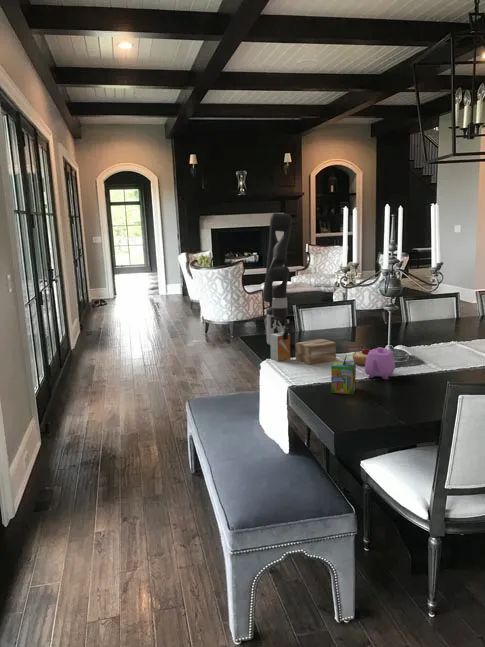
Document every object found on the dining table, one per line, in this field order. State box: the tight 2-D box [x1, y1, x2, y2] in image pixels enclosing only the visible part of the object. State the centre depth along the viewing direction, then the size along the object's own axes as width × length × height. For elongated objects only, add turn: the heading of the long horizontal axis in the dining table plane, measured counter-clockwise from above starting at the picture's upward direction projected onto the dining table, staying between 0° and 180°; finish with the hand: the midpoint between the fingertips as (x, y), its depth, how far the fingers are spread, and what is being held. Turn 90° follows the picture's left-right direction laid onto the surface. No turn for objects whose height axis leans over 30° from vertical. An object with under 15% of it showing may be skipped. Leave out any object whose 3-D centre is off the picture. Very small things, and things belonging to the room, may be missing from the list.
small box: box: [269, 332, 291, 362], centre depth 267 cm, size 8×6×13 cm
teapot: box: [364, 346, 396, 380], centre depth 232 cm, size 20×12×13 cm, turn 153°
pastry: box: [352, 345, 371, 367], centre depth 253 cm, size 12×12×9 cm
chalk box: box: [330, 354, 357, 395], centre depth 214 cm, size 9×9×15 cm
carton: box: [294, 343, 337, 365], centre depth 263 cm, size 12×16×8 cm
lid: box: [295, 337, 336, 348], centre depth 262 cm, size 12×16×1 cm
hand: (280, 338), depth 266 cm, fingers open, 8 cm apart
